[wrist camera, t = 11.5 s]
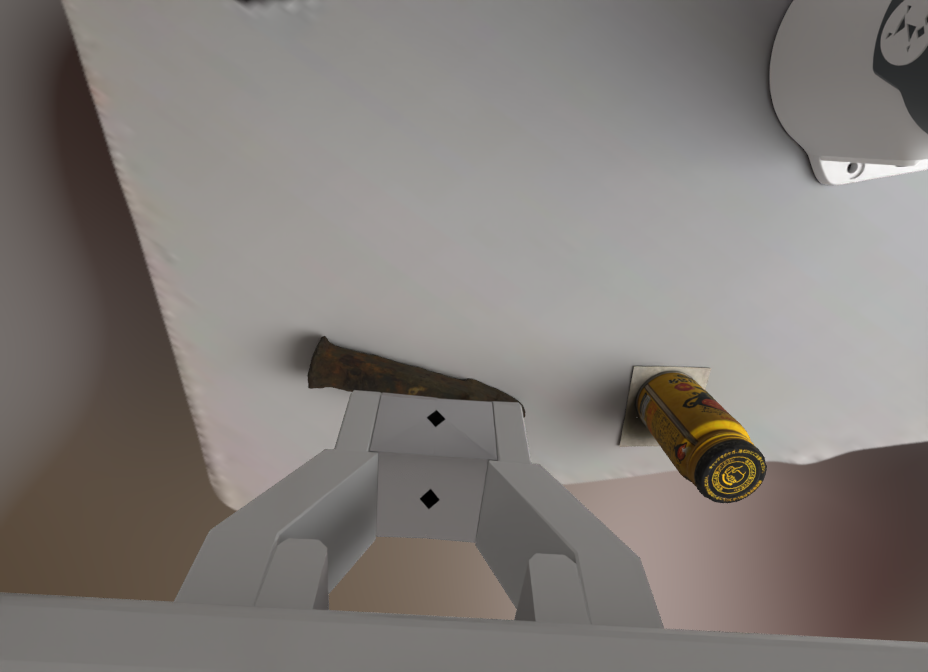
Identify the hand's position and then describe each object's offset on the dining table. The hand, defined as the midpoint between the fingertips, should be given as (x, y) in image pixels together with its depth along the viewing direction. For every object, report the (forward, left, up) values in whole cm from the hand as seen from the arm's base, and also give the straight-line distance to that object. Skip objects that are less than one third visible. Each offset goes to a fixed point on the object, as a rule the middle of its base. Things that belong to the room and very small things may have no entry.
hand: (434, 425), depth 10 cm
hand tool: (0, +16, -36) cm, 39 cm away
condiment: (-22, +19, -36) cm, 46 cm away
